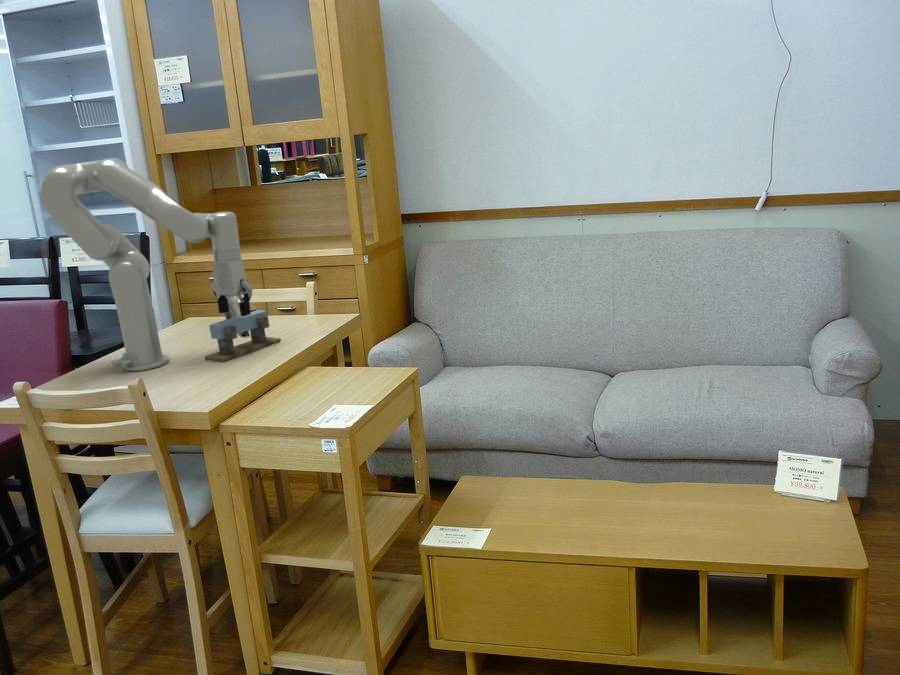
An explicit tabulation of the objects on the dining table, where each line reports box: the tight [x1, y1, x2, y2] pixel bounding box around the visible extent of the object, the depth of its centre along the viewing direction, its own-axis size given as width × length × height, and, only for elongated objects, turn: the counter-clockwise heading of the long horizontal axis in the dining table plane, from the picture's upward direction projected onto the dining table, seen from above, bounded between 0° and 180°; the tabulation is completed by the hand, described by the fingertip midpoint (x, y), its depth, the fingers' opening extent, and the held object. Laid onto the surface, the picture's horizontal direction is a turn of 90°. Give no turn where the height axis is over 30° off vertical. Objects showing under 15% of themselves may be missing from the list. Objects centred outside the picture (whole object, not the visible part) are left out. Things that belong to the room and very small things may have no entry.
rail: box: [208, 309, 268, 340], centre depth 237 cm, size 18×4×4 cm, turn 143°
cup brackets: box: [204, 315, 282, 363], centre depth 238 cm, size 22×8×9 cm, turn 144°
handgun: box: [223, 296, 250, 337], centre depth 270 cm, size 31×3×15 cm, turn 25°
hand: (234, 313), depth 236 cm, fingers open, 9 cm apart
